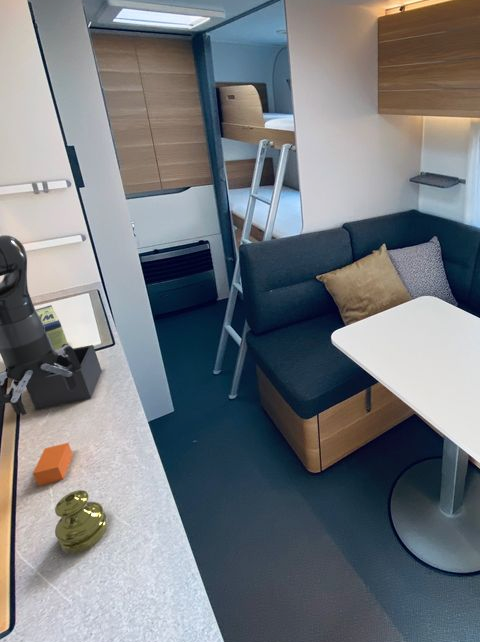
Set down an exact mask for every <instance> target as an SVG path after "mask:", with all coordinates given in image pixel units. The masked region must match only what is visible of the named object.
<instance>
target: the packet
mask: <svg viewBox="0 0 480 642" xmlns="http://www.w3.org/2000/svg"><path fill="white" fill-rule="evenodd" d="M73 455H74V453H73V451H72V449H71V446H70V443H69V442H65V443H61V444H57V445H53V446H49V447H45V448H44V449H43V452H42V454H41V455H40V458H39V460H38V462H37V463H36V466H35V468H34V471H33V473H32V475H33V477H34V480H35V481H36V483H37V485H38V487H39V486H44V485H47V484H50V483H55V482H58V481H62V480H64V479H65V476H66V473H67V471H68V468H69V466H70V463H71V460H72V458H73Z"/></svg>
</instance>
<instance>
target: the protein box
mask: <svg viewBox="0 0 480 642" xmlns="http://www.w3.org/2000/svg"><path fill="white" fill-rule="evenodd" d="M35 310H36V312H37V314H38V316H39V317H40V319H41V321H42V324H43V325H44V327H45V332H46V334H47V337H48V339H49V342H50V345H51V347H52V349H53V350H54V351H55V350H58V349H60V348H62V345H63V344H68V345H69V342H68V341H67V337H66V335H65V332H64V329H63V326H62V324H61V321H60V319H59V318H58V316H57V313H56V312H55V309H54V307H53V305H52V304H50V305H47V306H44V307H39V308H37V309H36V308H35Z"/></svg>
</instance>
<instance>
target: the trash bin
mask: <svg viewBox="0 0 480 642" xmlns="http://www.w3.org/2000/svg"><path fill="white" fill-rule="evenodd" d="M72 348H73V350H74V352H75V355H76V357H77V359H78V361H79V363H80V365H81V368H80V369H79V370H76V371H75V372H74V373H73V377H74V380H75V383H76V387H74V390H73V391H71V392H70V391H69V390H68V389H67V387H66V384H65V382H64V379H63V376H62V375H59V374H56V373H53V372H51V373H50V374H49V376H47V377H44V378H40V379H38V380H37V381H36V382H33V383H27V385H26V387H25V389H26V391H27V393H28V395H29V398H30V400H31V402H32V405H33V407H34V409H35V411H40V410H45V409H49V408H55V407H58V406H63V405H68V404H72V403H76V402H81V401H85V400H91V399H92V397H93V395H94V392H95V390H96V387H97V385H98V383H99V379H100V377H101V375H102V372H103V370H102V366H101V364H100V361H99V358H98V355H97V353H96V350H95V346H94V344H91V345H84V346H79V347H72ZM56 364H58V365H60V366H63V367H66V368H67V367H68V366H69V365H70V364H69V361H68V359H67V357H63V356H62V355H59V356H58V358H57V361H56Z"/></svg>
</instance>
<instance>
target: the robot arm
mask: <svg viewBox="0 0 480 642" xmlns="http://www.w3.org/2000/svg"><path fill="white" fill-rule="evenodd" d="M2 276H3V278H2V280H1V281H0V357H1V360H2V361H3V363H4V366H5V370H4V371H3V372H0V406H4V405H6V404H10V405H11V407H12V409H13V412H15V414H16V415H18V416H19V415H21V416H22V417H23V416H25V415H27V414H28V413H27V411H26V408H25V406H24V404H23V402H22V400H21V398H20V397H21V395H22V393H23V392H24V391H25V389H26V385H27V383H33V382H36V381H37V380H38V379H40V378H44V377H47V376H49V374H50V373H51V372H53V373H56V374H59V375H62V376H63V379H64V382H65V384H66V387H67V389H68V390H69V391H70V392H71V391H73V390H74V387H76V383H75V380H74V377H73V373H74V372H75V371H76V370H79V369H80V368H81V365H80V363H79V361H78V359H77V357H76V355H75V352H74V350H73V348H74V347H72V346H71V345H69V343H68V344H63V345H62V348H60V349H58V350H55V351H54V350H53V349H52V347H51V345H50V342H49V339H48V337H47V334H46V332H45V327H44V325H43V324H42V321H41V319H40V317H39V316H38V314H37V312H36V308H35V306H34V302H33V300H32V298H31V295H30V292H29V286H28V255H27V251H26V247H25V246H24V245H23V243H22V242H21V241H20V240H18V239H17V238H16V237H14V236H11V235H9V234H4V235H0V277H2ZM59 355H62V356H63V357H67V359H68V361H69V364H70V365H69V366H68V367H67V368H66V367H63V366H60V365H58V364H56V361H57V358H58V356H59ZM7 378H8V379H10V380H12V381H11V383H10V388H9V390H8V392H7V393H5V394H4V391H3V389H2V386H3V385H4V384H5V380H6V379H7Z"/></svg>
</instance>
